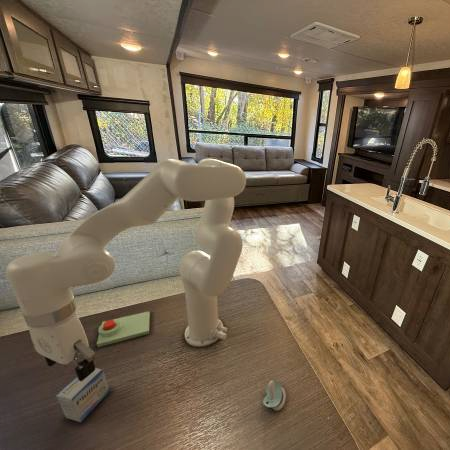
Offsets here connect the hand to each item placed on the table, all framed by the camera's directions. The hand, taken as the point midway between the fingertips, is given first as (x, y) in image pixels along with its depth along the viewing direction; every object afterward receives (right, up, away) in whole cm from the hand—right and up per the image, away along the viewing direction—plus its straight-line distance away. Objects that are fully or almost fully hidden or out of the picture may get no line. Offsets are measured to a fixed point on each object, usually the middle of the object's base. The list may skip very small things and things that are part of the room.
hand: (72, 368), depth 57 cm
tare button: (-10, -1, +25) cm, 27 cm away
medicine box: (-1, -13, +6) cm, 14 cm away
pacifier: (+46, -15, +11) cm, 50 cm away
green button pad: (-7, -3, +28) cm, 29 cm away
